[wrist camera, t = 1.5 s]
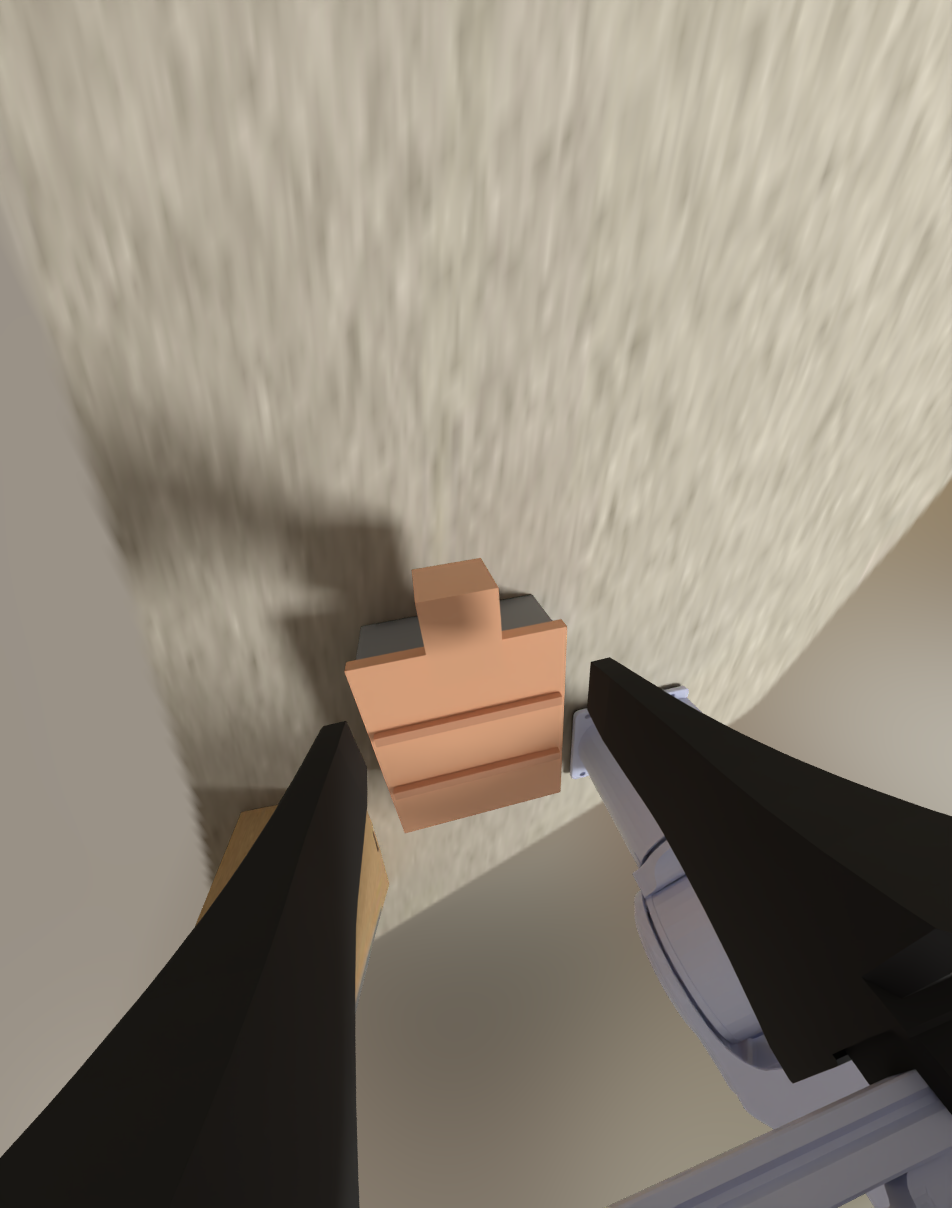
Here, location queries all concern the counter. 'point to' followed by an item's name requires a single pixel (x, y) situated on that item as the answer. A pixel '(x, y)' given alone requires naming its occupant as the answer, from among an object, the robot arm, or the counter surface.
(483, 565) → the lid
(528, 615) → the tub
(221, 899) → the robot arm
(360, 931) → the sandwich container
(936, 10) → the counter surface
